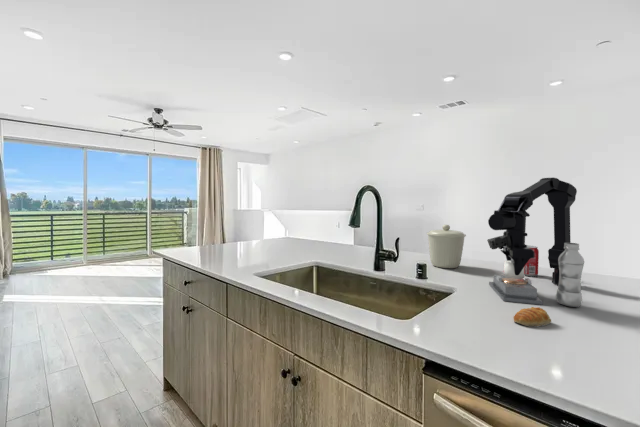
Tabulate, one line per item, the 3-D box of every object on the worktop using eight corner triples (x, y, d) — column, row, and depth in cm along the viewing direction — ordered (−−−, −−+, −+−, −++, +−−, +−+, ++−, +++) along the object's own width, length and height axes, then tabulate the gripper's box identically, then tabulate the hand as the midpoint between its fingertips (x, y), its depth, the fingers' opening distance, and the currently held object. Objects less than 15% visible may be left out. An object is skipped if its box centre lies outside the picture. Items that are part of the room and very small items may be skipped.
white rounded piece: (520, 274, 108) (521, 257, 107) (526, 279, 102) (527, 260, 102) (501, 273, 110) (502, 256, 109) (506, 277, 104) (507, 259, 104)
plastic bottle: (575, 303, 97) (578, 242, 96) (586, 310, 90) (590, 245, 89) (552, 300, 99) (554, 241, 98) (560, 307, 93) (564, 244, 92)
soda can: (541, 277, 129) (543, 247, 129) (525, 277, 130) (526, 247, 129) (530, 273, 137) (531, 245, 136) (514, 272, 137) (516, 245, 136)
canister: (472, 270, 140) (473, 226, 139) (433, 270, 140) (434, 226, 139) (455, 262, 158) (456, 223, 157) (421, 262, 158) (422, 222, 157)
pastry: (531, 330, 77) (531, 316, 77) (505, 321, 83) (506, 307, 83) (553, 324, 80) (553, 311, 80) (527, 316, 87) (527, 303, 86)
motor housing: (521, 287, 114) (521, 272, 114) (542, 304, 95) (543, 287, 95) (488, 284, 117) (489, 270, 117) (503, 301, 98) (504, 284, 98)
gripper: (484, 226, 116) (482, 265, 117) (496, 231, 99) (495, 277, 99) (517, 227, 113) (515, 267, 114) (536, 232, 95) (534, 280, 96)
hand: (513, 272), depth 106 cm, fingers closed on white rounded piece, 6 cm apart
